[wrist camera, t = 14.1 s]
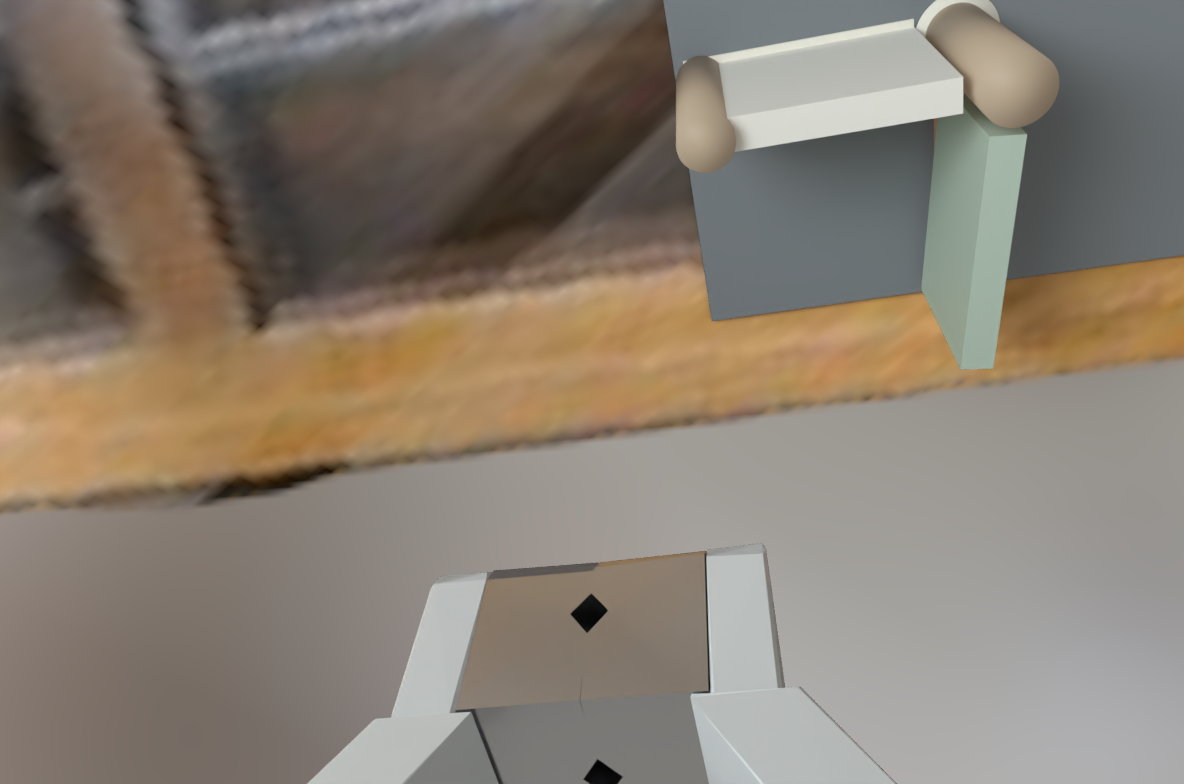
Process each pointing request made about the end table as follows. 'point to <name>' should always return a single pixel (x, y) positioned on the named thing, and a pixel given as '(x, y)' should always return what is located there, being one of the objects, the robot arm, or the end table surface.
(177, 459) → the end table surface
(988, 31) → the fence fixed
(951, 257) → the fence gate
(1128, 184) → the card
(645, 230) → the end table surface
